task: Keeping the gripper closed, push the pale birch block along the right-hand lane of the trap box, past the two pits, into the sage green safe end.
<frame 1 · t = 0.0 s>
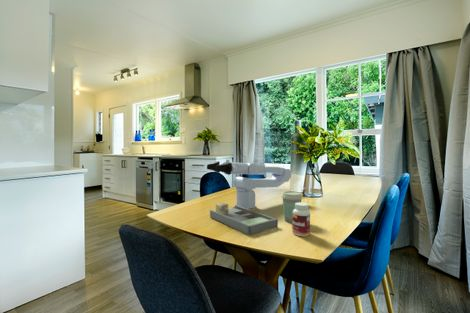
hand: (211, 167, 114), 22 cm above the table, tool horizontal, fingers open, 7 cm apart
birch block: (222, 213, 108), point 2 cm above the table, touching trap box
trap box: (240, 221, 103), on the table
coffee cup: (291, 221, 105), on the table
pill bottle: (300, 234, 90), on the table
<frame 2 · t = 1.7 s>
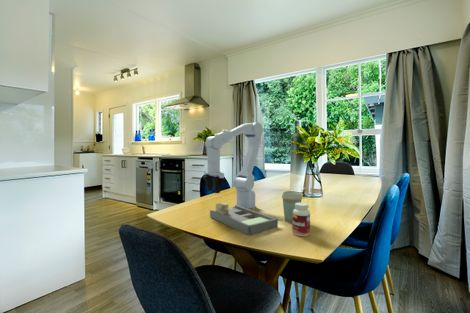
hand: (213, 191, 114), 10 cm above the table, tool pointing down, fingers open, 6 cm apart
nothing on the table moved.
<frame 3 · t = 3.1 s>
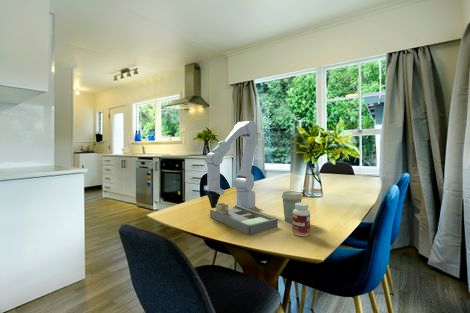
hand: (213, 207, 114), 3 cm above the table, tool pointing down, fingers closed
nothing on the table moved.
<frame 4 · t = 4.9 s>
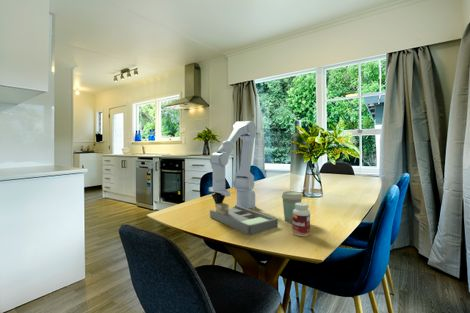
hand: (218, 209, 110), 3 cm above the table, tool pointing down, fingers closed, pressing on birch block
birch block: (222, 213, 108), point 2 cm above the table, touching gripper, trap box
everything else where it was.
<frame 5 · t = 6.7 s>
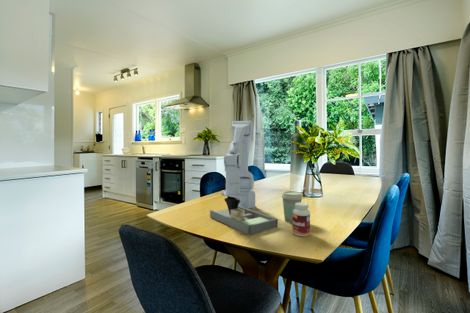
hand: (232, 215, 102), 3 cm above the table, tool pointing down, fingers closed
birch block: (237, 219, 99), point 2 cm above the table, touching gripper, trap box
everything else where it was.
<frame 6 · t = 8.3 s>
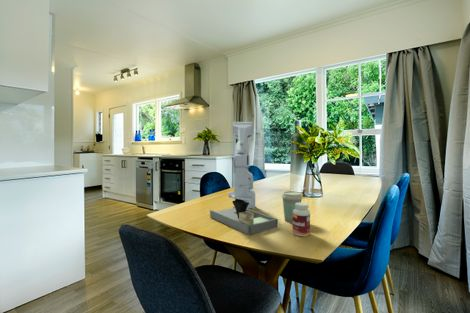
hand: (240, 218, 98), 3 cm above the table, tool pointing down, fingers closed
birch block: (246, 223, 95), point 2 cm above the table, touching gripper, trap box
everything else where it was.
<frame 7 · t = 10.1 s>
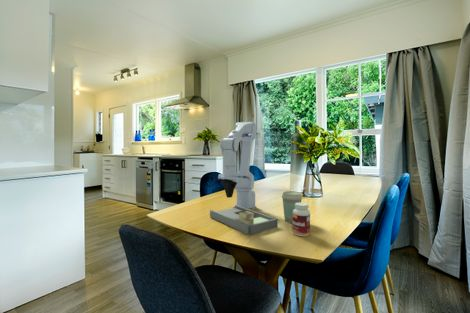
hand: (229, 197, 107), 10 cm above the table, tool pointing down, fingers closed
birch block: (246, 223, 95), point 2 cm above the table, touching trap box
everything else where it was.
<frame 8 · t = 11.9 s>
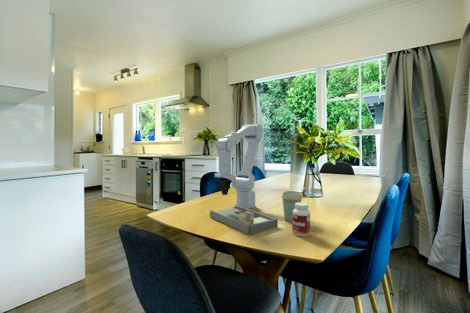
hand: (224, 194, 113), 9 cm above the table, tool pointing down, fingers closed
nothing on the table moved.
at the end: birch block 1.4 cm from the target spot, point 2.0 cm above the table; birch block tilted 0°; birch block moved 16.9 cm from its start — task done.
